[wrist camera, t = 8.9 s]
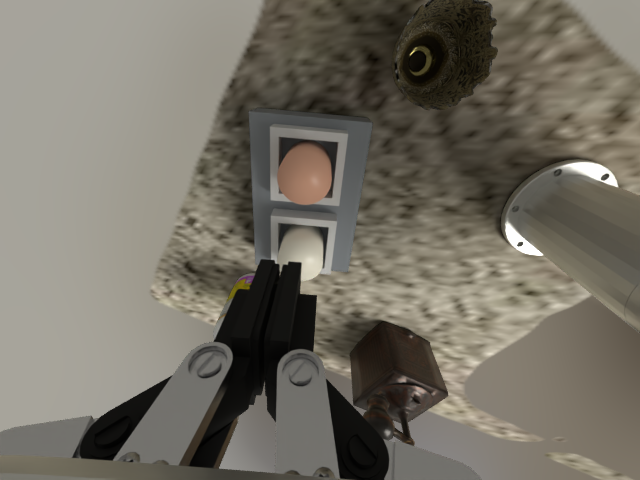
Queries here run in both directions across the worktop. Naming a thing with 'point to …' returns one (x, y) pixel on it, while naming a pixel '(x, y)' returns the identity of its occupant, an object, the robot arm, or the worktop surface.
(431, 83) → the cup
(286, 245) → the knob cream
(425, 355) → the dark brown coffee grinder
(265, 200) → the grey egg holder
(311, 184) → the brown egg
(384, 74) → the worktop surface
